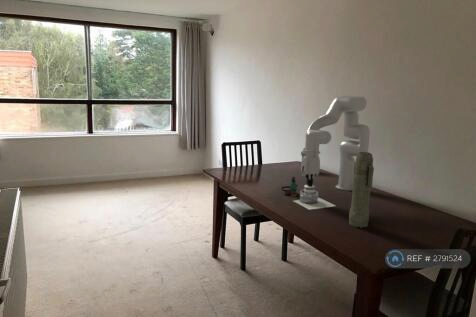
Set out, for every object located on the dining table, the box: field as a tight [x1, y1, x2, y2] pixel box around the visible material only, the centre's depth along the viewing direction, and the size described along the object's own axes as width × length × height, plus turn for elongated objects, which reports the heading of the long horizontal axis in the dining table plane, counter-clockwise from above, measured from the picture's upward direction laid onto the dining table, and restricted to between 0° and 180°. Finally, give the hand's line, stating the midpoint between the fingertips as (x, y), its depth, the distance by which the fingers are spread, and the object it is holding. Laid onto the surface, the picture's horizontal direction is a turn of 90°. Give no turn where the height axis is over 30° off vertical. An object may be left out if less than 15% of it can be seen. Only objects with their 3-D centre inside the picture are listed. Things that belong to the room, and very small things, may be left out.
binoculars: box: [280, 176, 299, 197], centre depth 216 cm, size 9×11×10 cm
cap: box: [303, 184, 316, 194], centre depth 202 cm, size 6×6×5 cm
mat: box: [293, 197, 336, 211], centre depth 200 cm, size 18×16×1 cm
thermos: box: [348, 151, 375, 229], centre depth 168 cm, size 9×12×35 cm
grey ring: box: [299, 189, 319, 204], centre depth 203 cm, size 10×10×6 cm
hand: (309, 185), depth 201 cm, fingers closed
